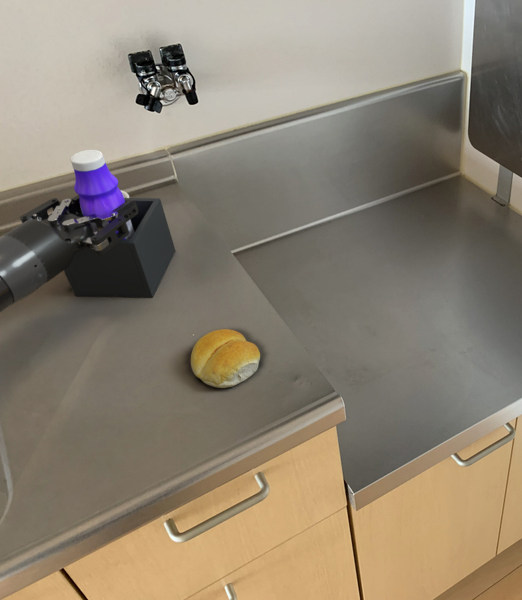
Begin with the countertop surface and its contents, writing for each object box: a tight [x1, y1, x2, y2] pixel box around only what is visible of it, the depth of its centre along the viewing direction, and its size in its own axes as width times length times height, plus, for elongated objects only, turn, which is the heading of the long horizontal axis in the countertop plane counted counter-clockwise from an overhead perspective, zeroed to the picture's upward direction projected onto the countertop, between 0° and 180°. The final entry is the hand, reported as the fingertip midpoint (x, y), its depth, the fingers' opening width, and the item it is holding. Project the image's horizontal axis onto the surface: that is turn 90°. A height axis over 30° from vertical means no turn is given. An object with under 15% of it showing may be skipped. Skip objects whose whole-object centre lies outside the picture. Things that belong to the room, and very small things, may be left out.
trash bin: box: [63, 197, 176, 298], centre depth 92 cm, size 12×12×10 cm
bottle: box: [70, 149, 135, 240], centre depth 88 cm, size 7×6×17 cm
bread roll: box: [190, 328, 261, 389], centre depth 79 cm, size 8×9×4 cm
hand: (114, 199), depth 89 cm, fingers closed on bottle, 7 cm apart
